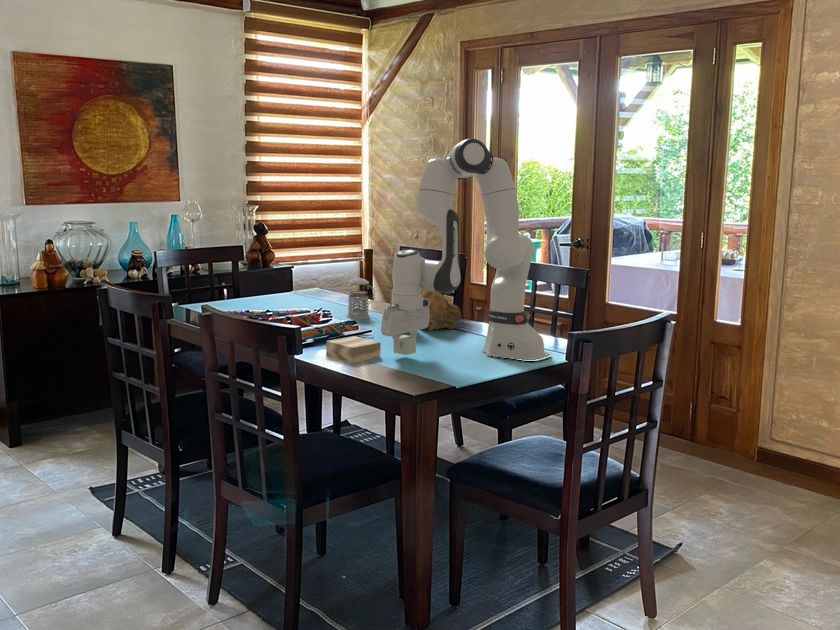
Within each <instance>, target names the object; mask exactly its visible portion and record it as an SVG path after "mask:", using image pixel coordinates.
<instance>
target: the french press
mask: <svg viewBox="0 0 840 630" xmlns="http://www.w3.org/2000/svg"><path fill="white" fill-rule="evenodd" d="M362 256H363V254H362V253H357V257H359V258H358V260H359V261H358V262H359V264H358V272H361V271H360V267H361V264H360V263H361V259H360V258H361V257H362ZM348 283H349V284H351V285H358V286H362V285H363V286H365V285H366V289H367V290H369V289H370V288H371V290H372V297H371V300H369V296H368V295H367V294H368V293H369V292H368V291H364V290H351V291H349V293H350V294H349V295H348V310H347V311H348V312H347V314H346V315H345V317H346V318H349V319H354V320H355V319H357V320H360V319H361V320H363V319H370V318H371V316H370V314H369V305H370V304H371V303H373V302H374V300H375V298H376V291H375V288H374V287H373V286H371V285H369V284H370V281H368V280H367V279H364V278H361V277H360V276H358V277H356V278H351V279H350V280H348Z"/></svg>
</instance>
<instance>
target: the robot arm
mask: <svg viewBox="0 0 840 630" xmlns="http://www.w3.org/2000/svg"><path fill="white" fill-rule="evenodd" d="M422 170H423V171H422V174H421V177H420V181H419V185H418V191H417V197H416V207H417V210H418V213H419V214H420V215H421V216H422V217H423V218H424V219H425V220H426V221H428V222H430V223H431V224H434V225H435V226H436V227H438V229H439V230H440V231H441V234H442V236H441V237H442V245H441V246H442V248H441V249H442V250H441V251H442V253H441V254H442V257H441V260H432V259H428V258H427V259H426V258H425V257H422V256H421V255H420V252H419V251H418V250H415V249H403V250H402V249H401V250H399V251H397V252H396V253H395V254H394V258H393V263H392V272H391V273H392V276H391V278H392V283H393V284H392V285H393V286H392V287H393V290H392V306H390V305H387V306H386V308H385V309H384V311H383V314H382V318H381V324H380V325H381V326H380V332H381V334H382V335H383V336H384V337H385V336H386V337H392V339H393V343H394V342H395V348H401V347H402V342H400V339H399V337H400V336H401V335H404V334H408V333H407V332H410V333H409V336H413V337H416V338H417V336H418V333H419V332H418V331H419V330H423V329H427V327H428V325H429V308H428V306H429V305H430V300H428V299H425V298H422V297H420V289H424V290H429V291H435V292H439V293H440V294H442V295H450V294H451V293H453V292H454V291H455V290H457V289H458V288H459V286H460V284H461V281H462V272H461V267H460V266H461V265H460V220H459V215H458V213H457V212H456V211H455V210H454V206H453V195H454V187H455V184H456V181H459V180H464V179H465V180H466V179H468V178H470V177H473V178H474V179H475V180H476V181H477V184H478V185H479V188H480V195H481V199H482V205H483V211H484V214H485V216H484V217H485V223H486V224H485V225H486V247H485V248H484V257H485V260H486V262H487V264H488V265H489V266H491V268H494V269H496V271H495V275H494V279H493V280H492V283H491V287H490V300H489V302H490V304H489V309H488V314H487V315H488V316H487V323H488V328H487V331H486V332H487V333H486V338H485V342H484V345H483V347H482V348H483V349H482V352H484V353H485V354H486V357H491V356H493V357H492V358H497V357H505V358H513V359H522V360H536V359H541V358H544V357H547V356H549V355H550V354H551V353H550V352H548V351H545V344H544V343H545V342H544V339H543V336H541V334H540V333H538V332H537V331H536V330H535V329H534V328H533V327H532V326H531V324H529V323H528V319H530V318H531V314H527V313H526V311H525V310H524V309H525V297H526V285H527V281H528V275H529V273H530V272H529V271H530V267H531V262H532V258H533V256H534V252H535V245H534V242H533V241H532V240H531V238H530V237H528V236H527V235H525V234H523V233H519V232H520V230H519V222H520V221H519V220H520V215H521V210H520V206H519V201H518V196H517V192H516V191H517V190H516V187H515V181H514V179H513V175H512V172H511V170H510V167H509V165H508V162H506V160H505V159H503V158H500V157H494V155H493V154H492V153H491V152H490V150H489V149H488V147H487V146H486V145H485V143H483V142H482V141H481V140H479V139H477V138H466V139H464V140H462V141H460V142H459V143H457V144H455V145H454V146H453V148H452V149H450V151H448V153H447V154H446V155H445V156H444V158H439V157H436V158H431V159H429V160H428V161H426V163H425V165H424V168H423V169H422ZM546 354H547V355H546ZM534 358H535V359H534Z"/></svg>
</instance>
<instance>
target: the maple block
mask: <svg viewBox="0 0 840 630" xmlns="http://www.w3.org/2000/svg"><path fill="white" fill-rule="evenodd" d="M325 348H326V349H325V351H326V353H325V354H326V357H327V356H328V357H331V358H334V359H338V360H341V361H345V362H348V363H357V362H358V363H359V362H361V361H367V360H371V359H376V358H377V359H378V358H381V342H380V341H377V340H376V341H375V340H373V339H369V338H364V337H360V336H357V335H352V336H347V337H342V338H335V339H329V340H326V345H325Z"/></svg>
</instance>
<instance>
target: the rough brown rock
mask: <svg viewBox="0 0 840 630" xmlns="http://www.w3.org/2000/svg"><path fill="white" fill-rule="evenodd" d="M420 297H422V298H425V299H428V300H430V305H429V306H428V308H429V325H428V327H427V328H426V329H427V330H428V331H433V330H441V329H444V328H446V329H448V330H454V329H455V328H456V327H457V324H458V322H459V320H460V319H461V318H462V312H461V310H460V307H459V306H458V305H456V304H453V303H450V302H449V301H448V299H446V297H445V296H444V294H443V293H439V292H436V291H429V290H424V289H420Z"/></svg>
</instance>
